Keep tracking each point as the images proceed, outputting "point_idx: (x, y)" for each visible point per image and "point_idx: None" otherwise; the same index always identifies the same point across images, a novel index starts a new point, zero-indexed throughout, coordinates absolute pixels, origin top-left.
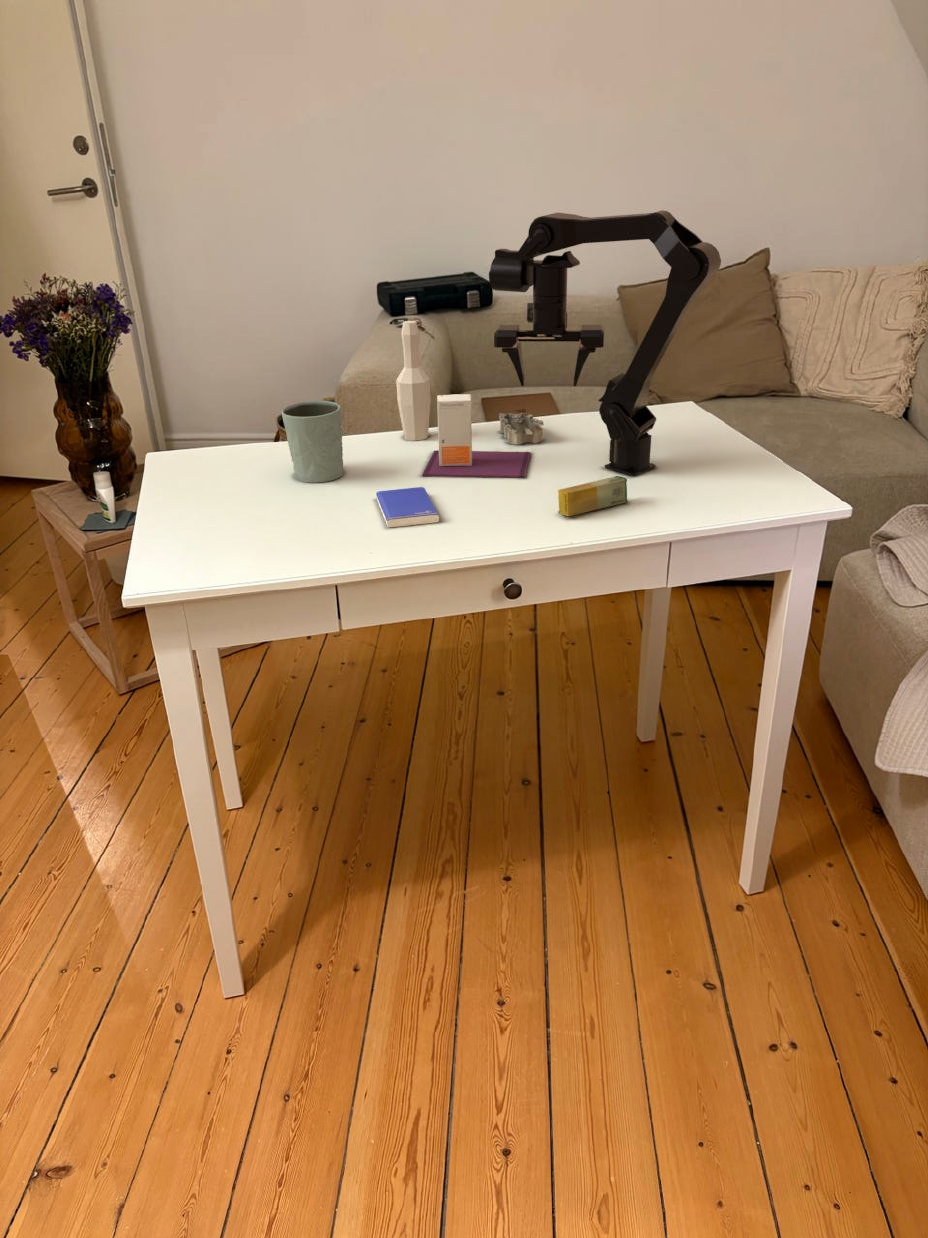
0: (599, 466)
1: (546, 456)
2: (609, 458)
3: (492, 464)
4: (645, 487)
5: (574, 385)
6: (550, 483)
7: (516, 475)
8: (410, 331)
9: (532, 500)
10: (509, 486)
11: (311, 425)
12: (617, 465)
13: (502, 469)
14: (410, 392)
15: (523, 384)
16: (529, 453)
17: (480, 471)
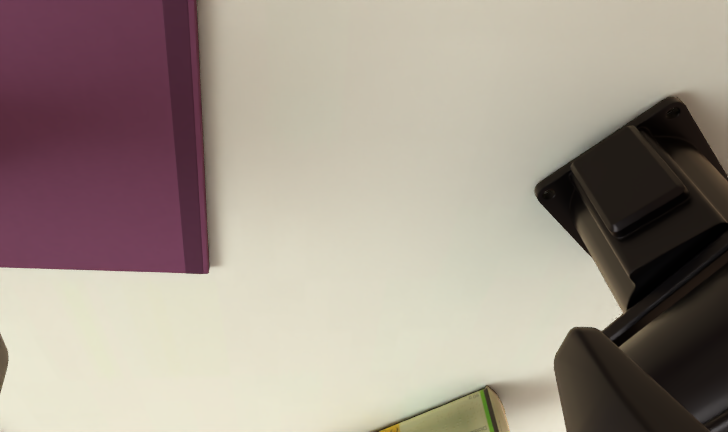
0: (521, 161)
1: (291, 18)
2: (575, 175)
3: (28, 161)
4: (596, 322)
5: (560, 371)
6: (306, 302)
7: (174, 269)
8: None
9: (253, 395)
10: (165, 324)
11: None
12: (577, 229)
13: (98, 217)
14: None
15: (3, 377)
16: (191, 5)
17: (5, 236)
